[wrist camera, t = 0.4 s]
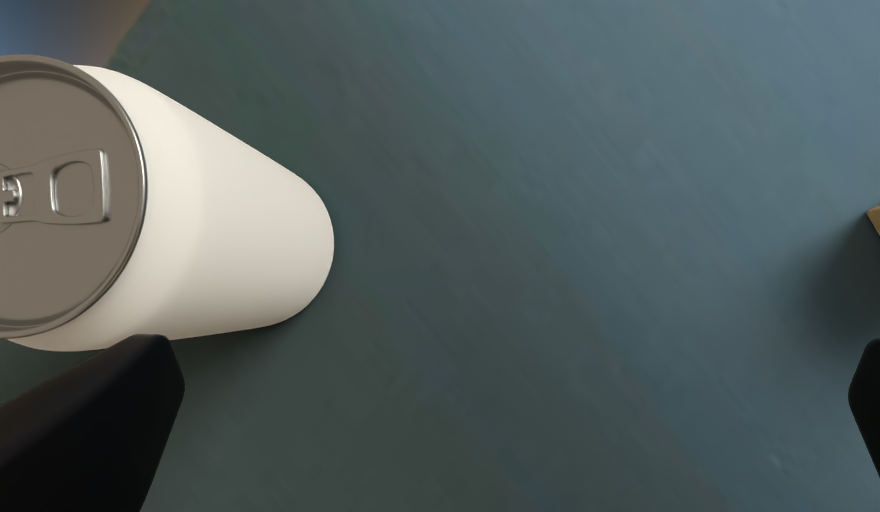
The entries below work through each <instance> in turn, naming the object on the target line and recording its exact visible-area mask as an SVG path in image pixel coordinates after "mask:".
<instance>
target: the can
mask: <svg viewBox="0 0 880 512" xmlns="http://www.w3.org/2000/svg"><path fill="white" fill-rule="evenodd" d="M333 252H334V235H333V228H332V224H331V220H330V217H329V214H328V212H327V209H326V207H325V205H324V204H323V202H322V200H321V199H320V197H319V196H318V195H317V193H316V192H315V191H314V190H313V189H312V188H311V187H310V186H309V185H308V184H307V183H306V182H305V181H304V180H302V179H301V178H300V177H298V176H297V175H295V174H294V173H292V172H291V171H289V170H288V169H286V168H284V167H283V166H281V165H280V164H278V163H276V162H275V161H273V160H272V159H270V158H268V157H267V156H265V155H264V154H262V153H260V152H259V151H257V150H255V149H254V148H252V147H250V146H249V145H247V144H246V143H244V142H242V141H241V140H239V139H237V138H236V137H234V136H232V135H231V134H229V133H227V132H226V131H224V130H222V129H221V128H219V127H217V126H216V125H214V124H213V123H211V122H209V121H208V120H206V119H204V118H203V117H201V116H199V115H198V114H196V113H194V112H193V111H191V110H189V109H188V108H186V107H184V106H183V105H181V104H179V103H177V102H176V101H174V100H172V99H171V98H169V97H167V96H166V95H164V94H162V93H160V92H159V91H157V90H155V89H153V88H151V87H149V86H148V85H146V84H144V83H142V82H140V81H138V80H136V79H133V78H131V77H129V76H126V75H124V74H121V73H118V72H115V71H112V70H108V69H104V68H99V67H93V66H82V65H71V64H68V63H66V62H63V61H60V60H56V59H53V58H49V57H44V56H38V55H24V54H21V55H6V56H0V339H7V340H9V341H12V342H15V343H18V344H21V345H24V346H27V347H31V348H35V349H40V350H48V351H86V350H97V349H105V348H109V347H111V346H113V345H114V344H116V343H118V342H120V341H122V340H124V339H126V338H127V337H129V336H131V335H135V334H162V335H165V336H166V337H167V338H168V339H169V340H175V339H183V338H190V337H198V336H205V335H212V334H219V333H226V332H233V331H240V330H247V329H253V328H259V327H265V326H269V325H273V324H276V323H279V322H282V321H284V320H286V319H288V318H290V317H292V316H294V315H295V314H297V313H298V312H300V311H301V310H302V309H304V308H305V307H306V306H307V305H308V304H309V303H310V302H311V301H312V300H313V299H314V298H315V296H316V295H317V294H318V292H319V291H320V289H321V288H322V286H323V284H324V282H325V280H326V278H327V276H328V273H329V271H330V267H331V264H332V259H333Z"/></svg>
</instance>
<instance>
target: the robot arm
mask: <svg viewBox="0 0 880 512" xmlns="http://www.w3.org/2000/svg"><path fill="white" fill-rule="evenodd" d="M184 391H185V383H184V378H183V375H182V372H181V369H180V366H179V364H178V361H177V358H176V355H175V353H174V350H173V347H172V344H171V342H170V340H169V339H168V338H167V337H166V336H165V335H162V334H135V335H131V336H129V337H127V338H126V339H124V340H122V341H120V342H118V343H116V344H114V345H113V346H111V347H109V348H107V349H105V350H103V351H101V352H100V353H98V354H96V355H94V356H92V357H90V358H88V359H87V360H85V361H83V362H81V363H79V364H77V365H75V366H73V367H72V368H70V369H68V370H66V371H64V372H62V373H60V374H59V375H57V376H55V377H53V378H51V379H49V380H47V381H46V382H44V383H42V384H40V385H38V386H36V387H34V388H33V389H31V390H29V391H27V392H25V393H23V394H21V395H20V396H18V397H16V398H14V399H12V400H10V401H8V402H7V403H5V404H3V405H1V406H0V512H140V510H141V507H142V505H143V503H144V501H145V499H146V496H147V494H148V491H149V489H150V486H151V484H152V481H153V478H154V476H155V473H156V470H157V468H158V465H159V462H160V459H161V457H162V454H163V451H164V448H165V446H166V443H167V440H168V438H169V435H170V432H171V429H172V427H173V424H174V421H175V418H176V416H177V413H178V410H179V408H180V405H181V402H182V399H183V396H184ZM848 400H849V405H850V408H851V411H852V414H853V416H854V418H855V421H856V423H857V425H858V428H859V430H860V432H861V435H862V437H863V439H864V442H865V444H866V446H867V449H868V451H869V454H870V456H871V458H872V461H873V463H874V465H875V468H876V470H877V472H878V475H879V477H880V338H877V339H874V340H872V341H870V342H869V343H868V344H867V345H866V347H865V349H864V352H863V354H862V357H861V359H860V362H859V364H858V367H857V369H856V372H855V374H854V377H853V379H852V382H851V384H850V387H849V393H848Z"/></svg>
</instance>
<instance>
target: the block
mask: <svg viewBox="0 0 880 512" xmlns="http://www.w3.org/2000/svg"><path fill="white" fill-rule="evenodd" d="M867 215H868V217H869V218H870V220H871V222H872V224H873V225H874V227H875V229H876V230H877V232H878V234H879V236H880V205H878V206H876V207H874V208H872V209H870V210H868V211H867Z"/></svg>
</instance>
